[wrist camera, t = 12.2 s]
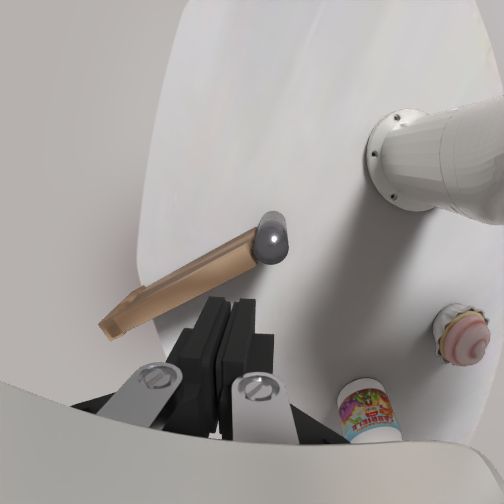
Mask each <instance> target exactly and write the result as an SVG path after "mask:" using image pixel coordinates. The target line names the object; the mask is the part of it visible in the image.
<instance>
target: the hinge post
mask: <svg viewBox="0 0 504 504" xmlns="http://www.w3.org/2000/svg"><path fill="white" fill-rule="evenodd" d="M288 249H289V246H288V237H287V228H286V221H285V218H284V216H283V215H282V214H280V213H279V212H276V211H270V212H267V213H266V214H265V215H264V216H263V217H262V219H261V222H260V225H259V228H258V231H257V235H256V238H255V241H254V245H253V250H254V254H255V256H256V257H257V258H258V260H260V261H261V262H263V263H265V264H269V265H273V264H277V263H280V262H281V261H283V260H284V259H285V257H286V256H287V254H288Z"/></svg>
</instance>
